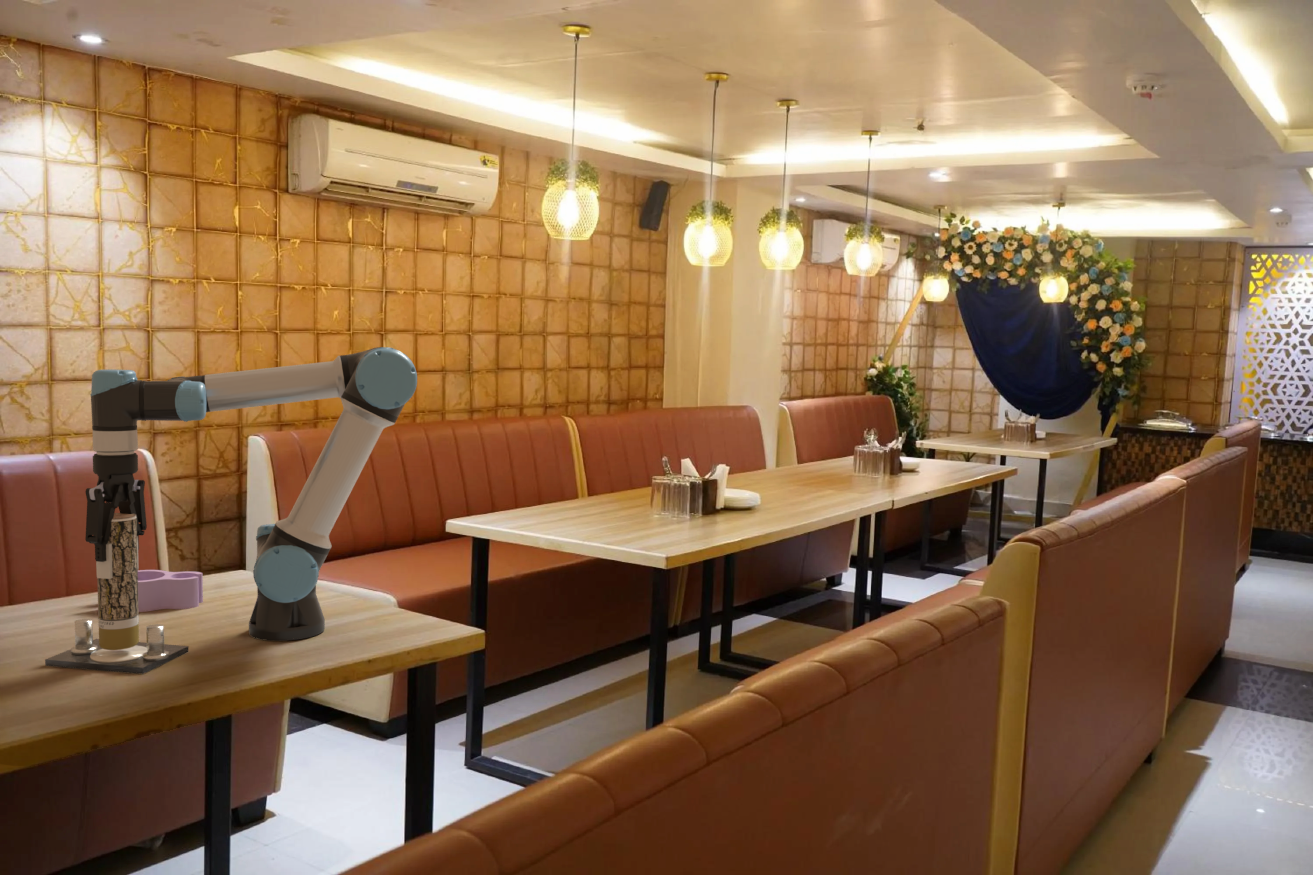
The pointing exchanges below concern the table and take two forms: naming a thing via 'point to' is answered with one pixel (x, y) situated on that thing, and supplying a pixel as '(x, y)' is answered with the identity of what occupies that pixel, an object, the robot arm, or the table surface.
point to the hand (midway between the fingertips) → (118, 573)
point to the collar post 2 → (155, 643)
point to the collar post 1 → (83, 638)
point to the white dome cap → (118, 654)
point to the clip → (169, 590)
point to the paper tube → (120, 588)
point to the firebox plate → (130, 666)
